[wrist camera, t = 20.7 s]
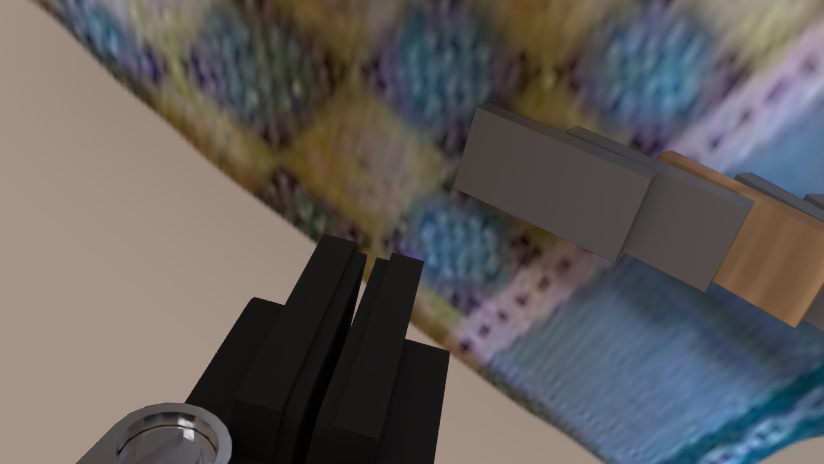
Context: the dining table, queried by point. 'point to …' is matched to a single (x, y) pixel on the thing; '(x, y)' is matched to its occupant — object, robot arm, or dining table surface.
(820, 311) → the domino
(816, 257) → the domino walnut
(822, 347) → the dining table surface
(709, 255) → the domino
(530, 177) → the domino
